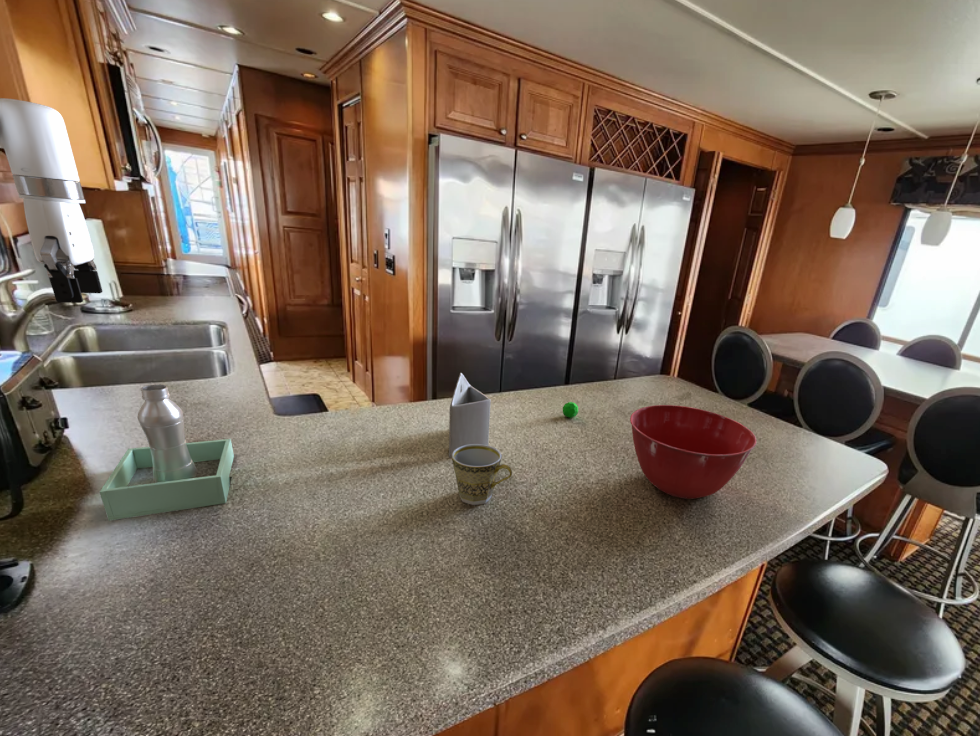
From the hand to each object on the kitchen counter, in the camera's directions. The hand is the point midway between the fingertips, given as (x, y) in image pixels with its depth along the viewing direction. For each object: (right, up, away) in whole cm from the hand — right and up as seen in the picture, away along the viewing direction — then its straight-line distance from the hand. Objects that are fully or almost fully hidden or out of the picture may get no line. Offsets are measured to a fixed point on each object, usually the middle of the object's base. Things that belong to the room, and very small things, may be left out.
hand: (81, 297), depth 81 cm
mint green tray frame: (+11, -35, +8) cm, 38 cm away
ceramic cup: (+69, -39, +15) cm, 80 cm away
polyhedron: (+88, -22, +63) cm, 111 cm away
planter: (+63, -29, +38) cm, 79 cm away
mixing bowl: (+114, -38, +30) cm, 124 cm away
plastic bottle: (+11, -35, +8) cm, 37 cm away
